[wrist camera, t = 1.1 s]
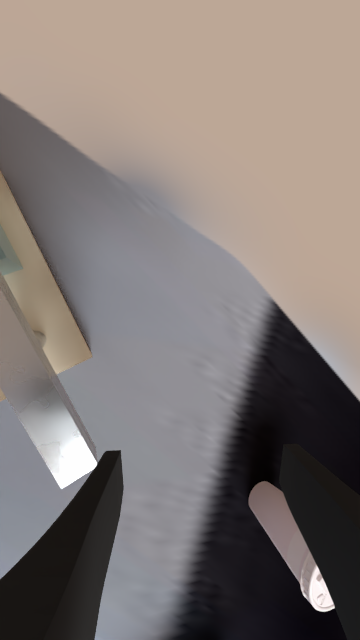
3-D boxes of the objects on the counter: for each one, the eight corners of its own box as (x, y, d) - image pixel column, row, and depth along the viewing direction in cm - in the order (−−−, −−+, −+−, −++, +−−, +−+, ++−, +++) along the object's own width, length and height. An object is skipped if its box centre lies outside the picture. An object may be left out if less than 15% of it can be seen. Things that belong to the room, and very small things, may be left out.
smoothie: (245, 470, 30) (377, 599, 17) (286, 469, 32) (427, 582, 19) (233, 525, 30) (356, 697, 17) (275, 520, 32) (410, 667, 19)
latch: (96, 408, 21) (106, 460, 14) (59, 429, 20) (51, 495, 13) (7, 238, 18) (-34, 199, 11) (-42, 252, 17) (-119, 219, 10)
